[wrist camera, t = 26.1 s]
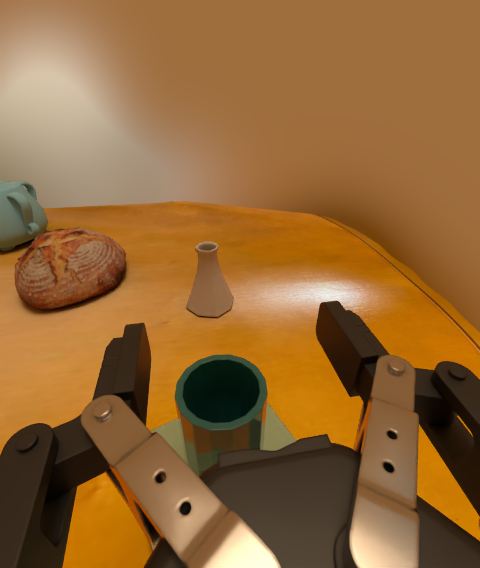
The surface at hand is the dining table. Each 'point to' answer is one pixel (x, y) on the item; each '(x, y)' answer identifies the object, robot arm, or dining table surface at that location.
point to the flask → (209, 284)
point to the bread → (68, 268)
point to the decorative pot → (19, 214)
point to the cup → (220, 409)
